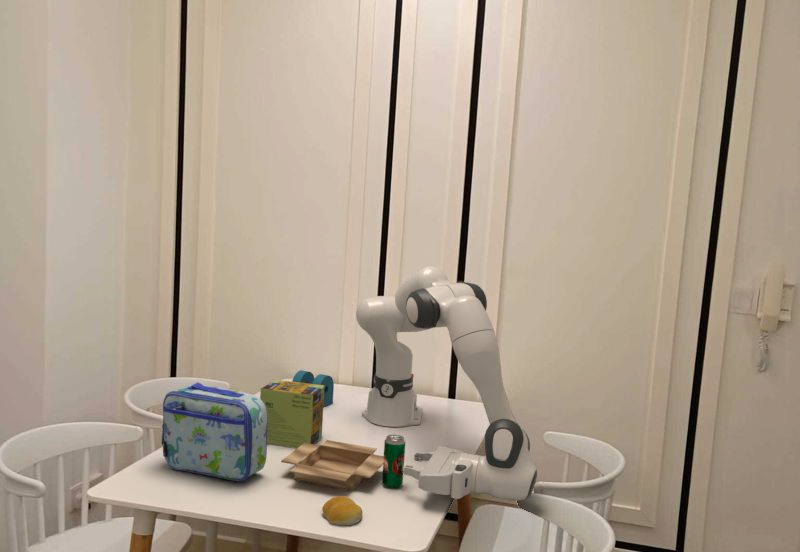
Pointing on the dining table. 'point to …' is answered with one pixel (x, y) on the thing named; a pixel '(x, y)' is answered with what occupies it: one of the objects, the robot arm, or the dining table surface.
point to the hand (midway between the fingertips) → (409, 462)
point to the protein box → (293, 412)
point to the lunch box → (214, 432)
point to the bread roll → (342, 511)
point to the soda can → (393, 461)
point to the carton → (334, 464)
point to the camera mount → (319, 380)
